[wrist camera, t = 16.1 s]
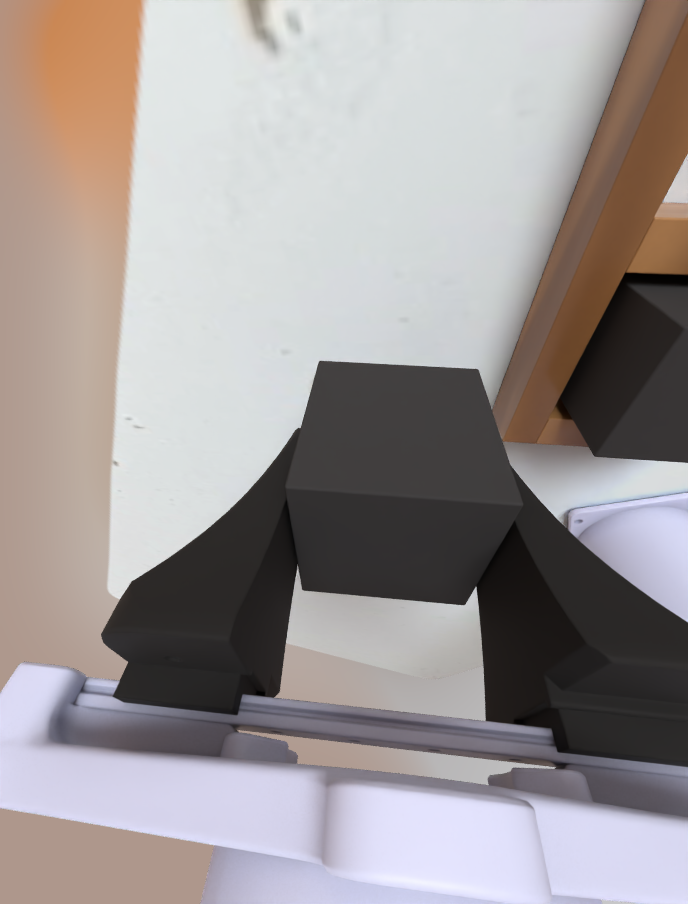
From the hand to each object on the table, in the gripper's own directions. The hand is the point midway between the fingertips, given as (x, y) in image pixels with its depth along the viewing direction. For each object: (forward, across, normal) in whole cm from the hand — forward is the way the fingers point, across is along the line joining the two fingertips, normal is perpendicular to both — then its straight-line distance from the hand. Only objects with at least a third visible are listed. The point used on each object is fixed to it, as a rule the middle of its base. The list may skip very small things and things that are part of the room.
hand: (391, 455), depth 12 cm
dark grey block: (+7, -10, -2) cm, 13 cm away
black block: (+2, 0, 0) cm, 2 cm away
